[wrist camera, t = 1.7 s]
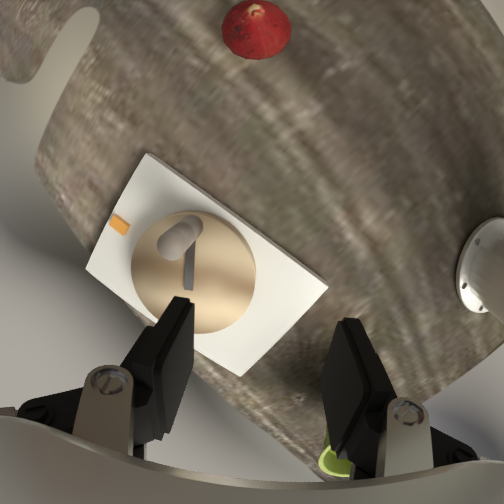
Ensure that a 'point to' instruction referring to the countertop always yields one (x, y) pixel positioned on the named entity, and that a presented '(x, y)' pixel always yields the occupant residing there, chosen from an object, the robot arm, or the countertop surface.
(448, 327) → the countertop surface
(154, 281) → the capstan dial
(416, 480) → the robot arm
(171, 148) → the countertop surface
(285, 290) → the stand
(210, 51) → the countertop surface
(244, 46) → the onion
